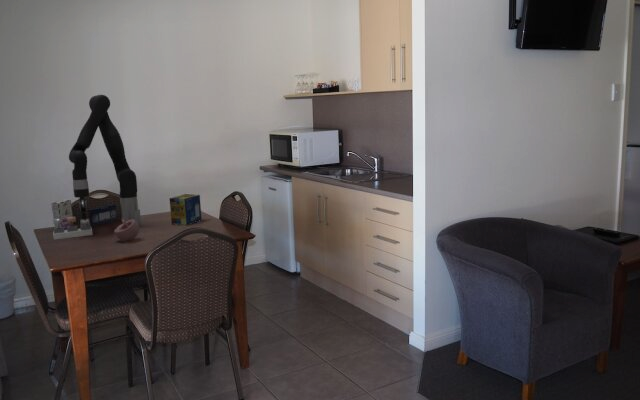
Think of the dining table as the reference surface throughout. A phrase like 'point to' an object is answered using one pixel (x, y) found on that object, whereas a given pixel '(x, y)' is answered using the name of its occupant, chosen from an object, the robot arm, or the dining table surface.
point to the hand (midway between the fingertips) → (84, 219)
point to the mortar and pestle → (127, 230)
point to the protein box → (185, 209)
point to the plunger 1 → (57, 221)
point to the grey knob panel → (72, 232)
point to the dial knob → (71, 220)
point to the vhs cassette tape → (102, 215)
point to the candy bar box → (62, 212)
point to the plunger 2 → (84, 222)
